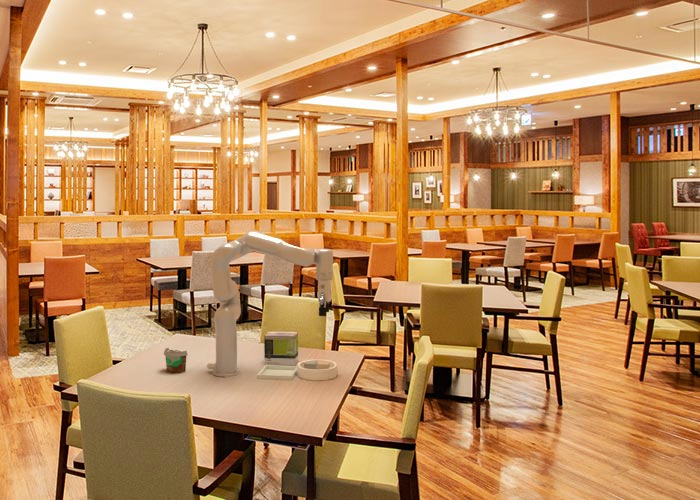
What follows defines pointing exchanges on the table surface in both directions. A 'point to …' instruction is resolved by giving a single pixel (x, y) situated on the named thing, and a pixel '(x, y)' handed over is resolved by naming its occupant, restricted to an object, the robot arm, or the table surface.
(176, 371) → the food container
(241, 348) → the table surface
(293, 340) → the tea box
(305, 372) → the bowl
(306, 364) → the slate cube
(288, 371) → the tray
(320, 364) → the sandstone cube
